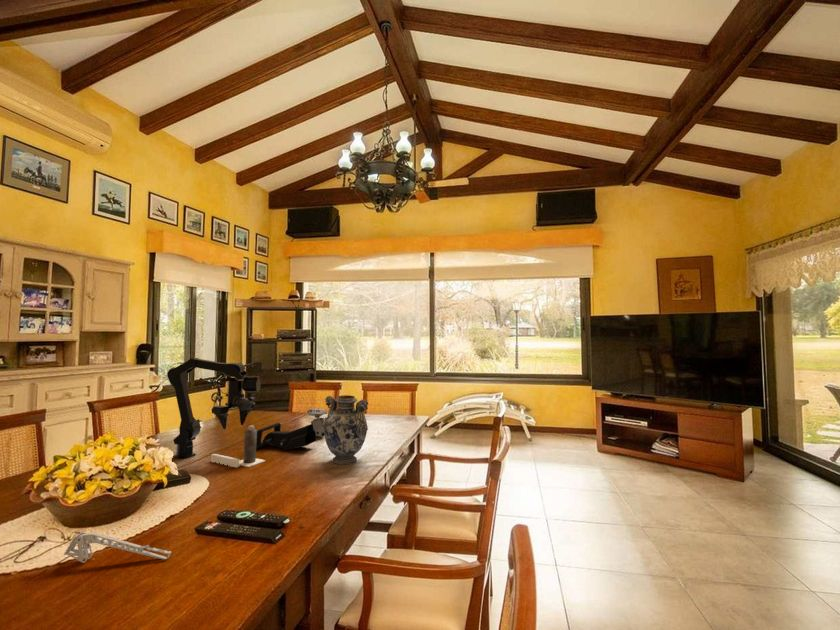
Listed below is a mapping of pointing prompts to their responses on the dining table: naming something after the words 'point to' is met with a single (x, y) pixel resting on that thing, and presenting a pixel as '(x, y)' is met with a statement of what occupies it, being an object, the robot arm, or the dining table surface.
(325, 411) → the figurine
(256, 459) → the coaster
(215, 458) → the low frosted rail
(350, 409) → the decorative vase
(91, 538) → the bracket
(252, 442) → the pepper mill
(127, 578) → the dining table surface
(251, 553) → the dining table surface
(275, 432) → the black looped hood device
